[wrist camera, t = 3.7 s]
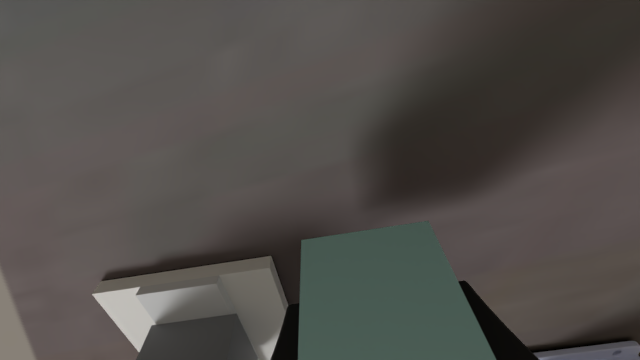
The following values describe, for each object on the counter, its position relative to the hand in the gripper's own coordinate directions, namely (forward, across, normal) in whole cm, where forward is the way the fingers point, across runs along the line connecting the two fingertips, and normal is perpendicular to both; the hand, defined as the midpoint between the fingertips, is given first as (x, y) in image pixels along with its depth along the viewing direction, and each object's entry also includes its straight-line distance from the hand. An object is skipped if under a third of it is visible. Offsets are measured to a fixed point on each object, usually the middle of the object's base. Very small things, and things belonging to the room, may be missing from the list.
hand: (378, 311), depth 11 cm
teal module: (+2, 0, 0) cm, 2 cm away
